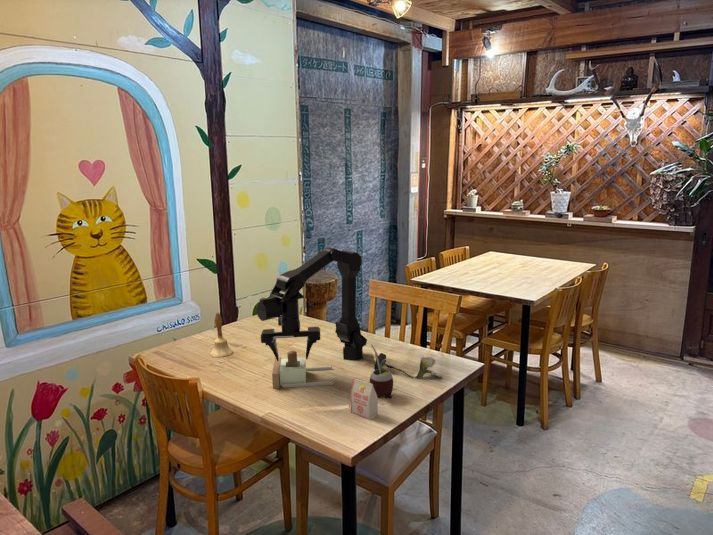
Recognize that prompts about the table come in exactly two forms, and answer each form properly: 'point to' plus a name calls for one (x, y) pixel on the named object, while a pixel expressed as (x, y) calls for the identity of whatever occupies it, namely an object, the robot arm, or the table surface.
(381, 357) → the artificial flower
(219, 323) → the hand bell
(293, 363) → the walnut peg
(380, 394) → the mate gourd
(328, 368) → the guide board
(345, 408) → the table surface
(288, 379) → the sliding block
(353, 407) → the tea bag
